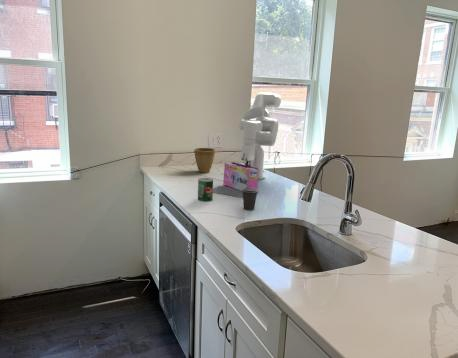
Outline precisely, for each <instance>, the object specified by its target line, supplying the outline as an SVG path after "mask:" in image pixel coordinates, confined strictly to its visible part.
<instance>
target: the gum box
mask: <svg viewBox="0 0 458 358" xmlns="http://www.w3.org/2000/svg"><path fill="white" fill-rule="evenodd" d="M258 180H259V179H258V168H255V167H251V166H246V165H245V164H243V163H242V164H241V163H237V162H234V161H233V162H231V163H226V162H224V169H223V185H224V186H226V187H228V188H234V189H238V190H241V191H242V190H243V189H247V188H250V189H255V190H257V191H258Z"/></svg>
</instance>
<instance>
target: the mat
mask: <svg viewBox="0 0 458 358" xmlns="http://www.w3.org/2000/svg"><path fill="white" fill-rule="evenodd" d="M213 194H220V195H223V196H230V197H235V198H240V199H243V192H242V191H241V190H238V189H235V188H232V187H229V186H221V185H218V186H215V187H213Z"/></svg>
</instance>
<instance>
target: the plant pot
mask: <svg viewBox="0 0 458 358" xmlns="http://www.w3.org/2000/svg"><path fill="white" fill-rule="evenodd" d="M193 152H194V158H195V164H196V167H197V169H198V172H199V173H203V174H205V173H206V174H208V173H210V172H211V169H212V167H213V163H214V159H215V154H216V149H215V148H212V147H197V148H194V149H193Z"/></svg>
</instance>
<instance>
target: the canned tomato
mask: <svg viewBox="0 0 458 358" xmlns="http://www.w3.org/2000/svg"><path fill="white" fill-rule="evenodd" d="M213 188H214V179H213V178H210V177H200V178H198V181H197V201H198V202H204V203H207V202H212V201H213V200H214V199H213V197H214V192H213Z"/></svg>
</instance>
